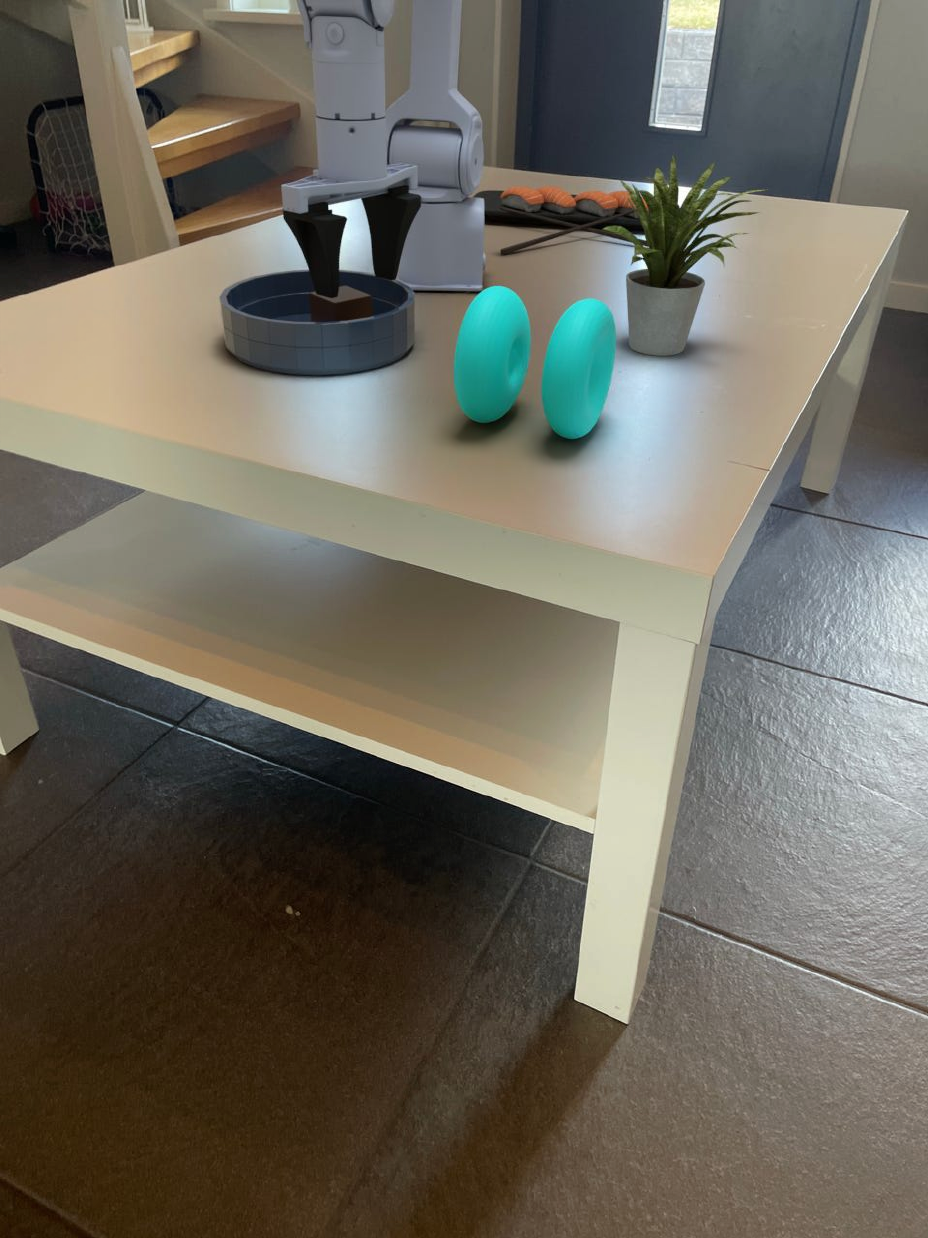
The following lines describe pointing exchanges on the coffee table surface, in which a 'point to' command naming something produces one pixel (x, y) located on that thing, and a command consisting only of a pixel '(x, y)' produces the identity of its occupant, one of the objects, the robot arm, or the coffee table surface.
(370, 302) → the block
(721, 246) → the house plant
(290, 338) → the bowl
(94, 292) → the coffee table surface
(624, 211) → the sushi plate
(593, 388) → the donuts
